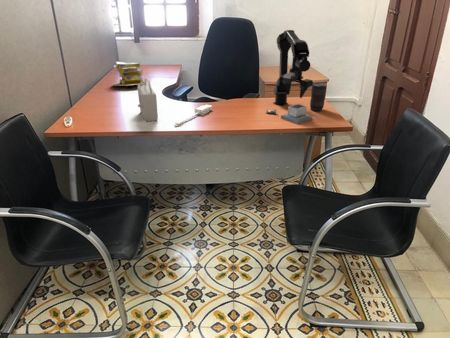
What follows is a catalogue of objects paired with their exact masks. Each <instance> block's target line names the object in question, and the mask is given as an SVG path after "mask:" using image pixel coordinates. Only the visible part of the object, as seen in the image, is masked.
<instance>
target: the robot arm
mask: <svg viewBox="0 0 450 338" xmlns="http://www.w3.org/2000/svg"><path fill="white" fill-rule="evenodd" d="M276 44H277V45H276V46H277V49H278V51H279V71H278V73H279V74H278V75H279V76H278V79H277V80H276V81H275V82H276V83H275V86H274V88H273V94H274V95H275V97H274V99H275V100H274V102H272V103H273V104H274V105H277V106H280V107H281V106H284V105H285V106H286V105H288V104H289V102H287V101H288V97H287V96H288V95H290V92H291V89H292V83H299V85H300V86H298V87H299V88H300V89H299V90H300V91H299V99H302V98H303V97H304V95H305V93H306V91H307V90H308V89H309V88H310V87H312V86H313V84H314V81H313V80H312V79H308V78H306V79H305V78H304V76H303V72H305V73H306V72H307V71H309V70H310V68H311V63H310V61H309V60H308V58H309V57H310V49H309V45H308V42H307V41H305V40H303V39H300V38H299V37H298V35H297V34H296V33H295V30H294V29H287V30H284V31H283V32H281V33H280V34H279V35H278V36H277V37H276ZM290 49H291V53H292V61H291V68H289V71H288V67H289V65H288V64H289V63H288V62H289V51H290Z"/></svg>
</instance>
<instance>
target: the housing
mask: <svg viewBox="0 0 450 338" xmlns="http://www.w3.org/2000/svg"><path fill="white" fill-rule="evenodd" d="M287 108H288V109H287V113H288V116H291V117H294V118H299V117H302V116H305V115H307V108H308V107H307V106H306V105H303V104H300V103H295V104H292V105H289V106H288V107H287Z"/></svg>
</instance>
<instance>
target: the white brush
mask: <svg viewBox="0 0 450 338" xmlns="http://www.w3.org/2000/svg"><path fill="white" fill-rule="evenodd" d="M212 109H213V105H210V104H205V105H201V106H199V107H196V108H195V109H194V113H193V114H192V115H190V116H188V117H186V118H185V119H183V120H178V121H177V122H175V123H174V125H173V126H174V127H181V126H182V125H183V123H184V122H186V121H188V120H190V119H191V118H193V117H195V116H196V115H199V116H204V115H206V114H208V113H209V112H210V111H211V110H212Z"/></svg>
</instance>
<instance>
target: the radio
mask: <svg viewBox="0 0 450 338" xmlns="http://www.w3.org/2000/svg"><path fill="white" fill-rule="evenodd" d="M139 70H140V78H141V83H140V84H137V88H136V89H137V95H138V102H139V104H137V107H138V108H139V109H140V110H139V113H140V114H141V117H143V119H144V121H145V122H153V121H158V120H159V119H158V118H159V115H158V101H157V94H156V93H155V91H154V90H153V88H152V86H151V82H150V80H149V77H145V78H144V82H145V83H144V84H143V83H142V79H143V78H142V76H143V75H142V74H143V69H139ZM146 82H147V83H146Z"/></svg>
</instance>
